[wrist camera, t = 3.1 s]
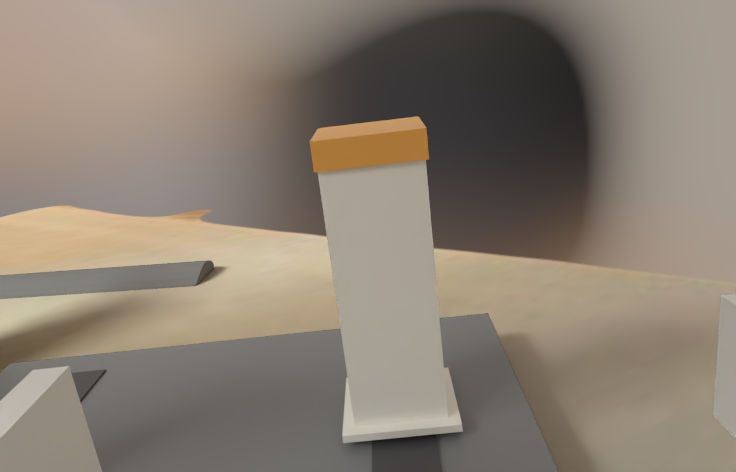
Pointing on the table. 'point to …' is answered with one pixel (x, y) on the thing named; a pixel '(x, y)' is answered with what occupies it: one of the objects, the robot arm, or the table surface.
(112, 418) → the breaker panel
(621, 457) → the table surface
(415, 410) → the white orange rectangular block
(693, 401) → the table surface
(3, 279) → the half round rod
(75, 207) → the table surface
